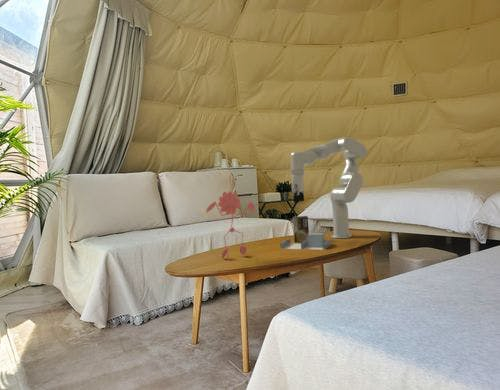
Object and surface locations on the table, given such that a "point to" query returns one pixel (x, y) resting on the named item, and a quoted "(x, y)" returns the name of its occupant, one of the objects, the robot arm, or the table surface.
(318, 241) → the slate block
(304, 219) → the coffee box
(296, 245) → the slot rack
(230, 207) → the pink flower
